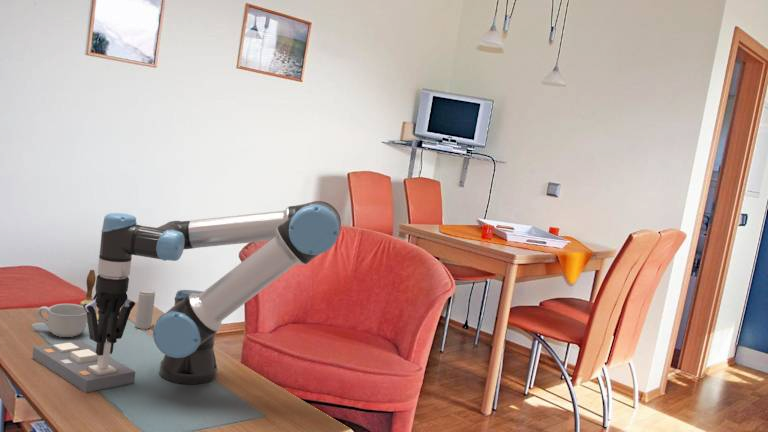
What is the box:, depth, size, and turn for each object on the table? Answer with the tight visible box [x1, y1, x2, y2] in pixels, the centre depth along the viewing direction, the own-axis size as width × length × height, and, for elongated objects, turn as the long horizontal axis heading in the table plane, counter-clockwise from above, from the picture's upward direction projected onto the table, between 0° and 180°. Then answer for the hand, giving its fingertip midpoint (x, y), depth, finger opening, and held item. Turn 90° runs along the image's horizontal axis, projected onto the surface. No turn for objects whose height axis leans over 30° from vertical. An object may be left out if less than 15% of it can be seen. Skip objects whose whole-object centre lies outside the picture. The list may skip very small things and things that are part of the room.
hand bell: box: [79, 269, 99, 320], centre depth 218 cm, size 8×8×16 cm
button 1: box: [53, 341, 80, 353], centre depth 181 cm, size 5×5×2 cm
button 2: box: [88, 365, 116, 375], centre depth 171 cm, size 5×5×2 cm
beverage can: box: [134, 288, 156, 330], centre depth 218 cm, size 5×5×12 cm
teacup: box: [36, 303, 87, 338], centre depth 200 cm, size 14×11×8 cm
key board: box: [32, 339, 136, 394], centre depth 176 cm, size 27×13×3 cm, turn 52°
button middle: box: [70, 349, 98, 364], centre depth 176 cm, size 5×5×2 cm
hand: (102, 366), depth 171 cm, fingers closed
